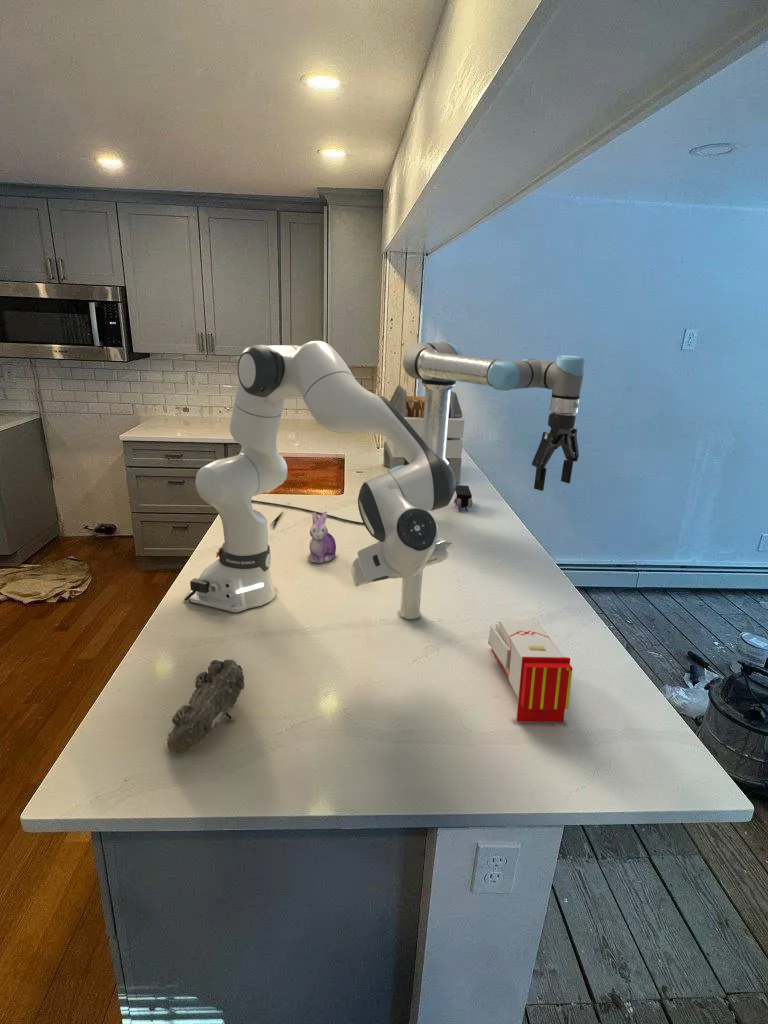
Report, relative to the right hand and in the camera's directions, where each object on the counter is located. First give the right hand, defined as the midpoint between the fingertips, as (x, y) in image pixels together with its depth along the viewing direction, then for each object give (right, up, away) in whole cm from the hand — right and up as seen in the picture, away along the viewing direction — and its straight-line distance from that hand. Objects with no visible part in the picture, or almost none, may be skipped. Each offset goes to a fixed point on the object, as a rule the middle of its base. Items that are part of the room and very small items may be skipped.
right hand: (552, 485), depth 166 cm
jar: (-42, -34, -18) cm, 57 cm away
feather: (-88, -9, +46) cm, 100 cm away
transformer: (-32, +11, +109) cm, 115 cm away
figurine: (-69, -22, +13) cm, 73 cm away
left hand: (-47, -20, -43) cm, 67 cm away
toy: (-19, -44, -42) cm, 64 cm away
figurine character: (-18, -6, +64) cm, 67 cm away
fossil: (-82, -47, -57) cm, 110 cm away
